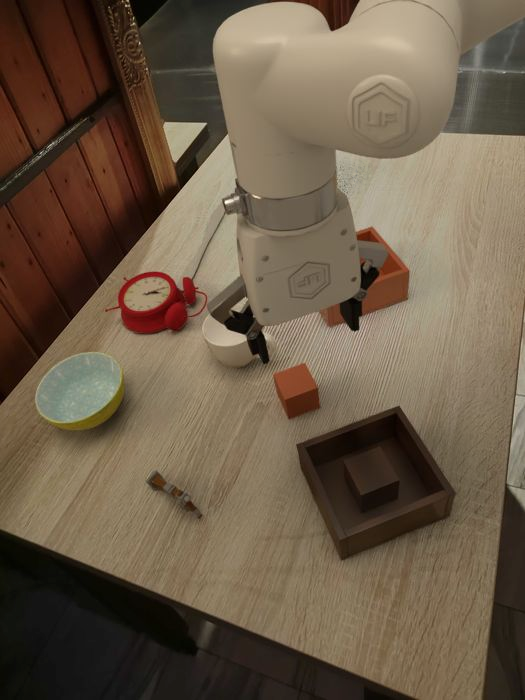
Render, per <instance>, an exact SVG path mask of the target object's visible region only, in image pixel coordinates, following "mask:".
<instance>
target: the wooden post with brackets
mask: <svg viewBox="0 0 525 700" xmlns="http://www.w3.org/2000/svg"><path fill="white" fill-rule="evenodd" d="M145 482H146V483H147V485H148V486H149V487H150V489H152V491H156V490H157V489H160V490H163V491H164V492H165V493H166V494H169V496H171V497H172V498H176V499H177V500H178V501H179V503H178V506H179V507H180V508H181V509H182V510H184V511H185V512H186V513H189V512H190V513H191V514H192V515H194V516H195V518H196V519H198V520H201V519H202V517H203V516H204V514H203V513H202V512H201V509H199V508H198V506H196V505H195V504H194V502H193V501H192V500H191V499H192V497H191V495H190V494H188V492H186V491H184V490H182V488H181V489H179V487H177V486H176V485H175V484H172V483H171V482H169V481H168V482H167V481H166V480H165V478H164V477H163V476H162V475H161V474H160V472H159V470H157V469H155V470H154V471H153V472H152V473H151V474H150V475H149V476H148V477H147V478H146V479H145Z"/></svg>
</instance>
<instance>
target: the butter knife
mask: <svg viewBox="0 0 525 700" xmlns="http://www.w3.org/2000/svg"><path fill="white" fill-rule="evenodd" d="M228 196H231V194H228V195H227V196H226V197H228ZM224 214H226V212H225V209H224V206H223V202H222V201H221V202H220V203H219V204H218V206H217V207H216V208H215V209H213V211H212V213H211V216H210V217H209V220H208V222H207V225H206V228H205V232H204V235H203V238H202V241H201V244H200V245H199V248H198V249H197V251H196V253H195V255H194V256H193V258H192V259H191V261H190V262H189V263H188V265H187V267H186V268H185V270H184V272H183V273H182V275H181V276H180V278H179V280H178V281H177V283H176V286H177V288H179V289H180V290H181V291H182V292H184V290H183V277H189V278H191V279H192V280H193V279H194V278H193V277H194V276H195V273H196V271H197V269H198V267H199V264H200V262H201V260H202V257H203V255H204V252H205V250H206V249H207V246H208V243H209V241H210V240H211V238H212V236H213V235H214V233H215V231H216V230H217V227H218V226H219V224H220V222H221V221H222V218H223V217H224Z"/></svg>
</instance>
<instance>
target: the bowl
mask: <svg viewBox="0 0 525 700" xmlns="http://www.w3.org/2000/svg"><path fill="white" fill-rule="evenodd" d="M124 394H125V376H124V372H123V369H122V366H121V365H120V363H119V361H118V360H116V358H114V357H113V356H111V355H109V354H107V353H104V352H100V351H99V352H98V351H86V352H85V351H84V352H80V353H77V354H74V355H71V356H68V357H66V358H64V359H62V360H61V361H58V363H56V364H55V365H53V367H51V368H50V369H49V370H48V371H47V372H46V373H45V374H44V376H43V377H42V378H41V380H40V382H39V384H38V385H37V387H36V391H35V397H34V403H35V408H36V410H37V411H38V414H39V415H40V416H41V417H43V419H44V420H46V421H47V422H49V423H50V424H51V425H53V426H55V427H58V428H60V429H63V430H67V431H84V430H89V429H92V428H95V427H98V426H99V425H102V424H103V423H104V422H106V421H108V419H110V418H111V417H112V416H113V415H114V414H115V412H116V411H117V410H118V409H119V407H120V404H121V402H122V400H123V397H124Z"/></svg>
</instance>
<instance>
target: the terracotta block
mask: <svg viewBox="0 0 525 700" xmlns="http://www.w3.org/2000/svg"><path fill="white" fill-rule="evenodd" d="M272 377H273V382H274V386H275V391H276V395H277V397H278V399H279V401H280V404H281V406H282V409H283V411H284V413H285V415H286V417H287V419H288V420H291V419H294V418H297V417H300V416H302V415H305V414H308V413H310V412H313V411H316V410H318V409H321V402H320V400H321V399H320V391H319V386H318V385H317V382H316V381H315V379H314V377H313V375H312V373H311V371H310V369H309V367H308V366H307V364H306V362H303V363H300V364H297V365H294V366H292V367H289V368H286V369H284V370H281V371H278V372H275V373H273V374H272Z"/></svg>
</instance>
